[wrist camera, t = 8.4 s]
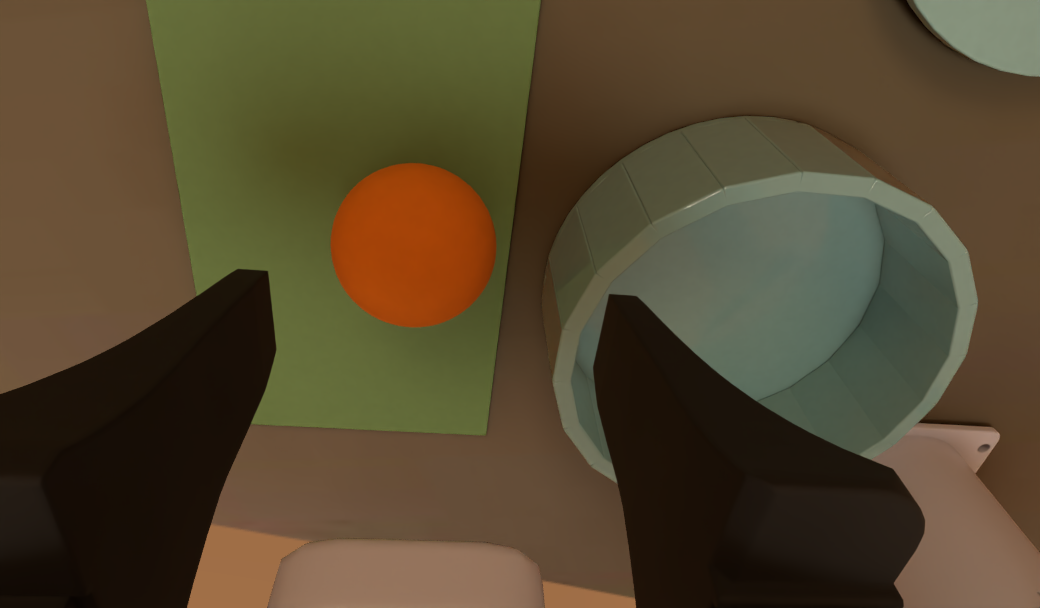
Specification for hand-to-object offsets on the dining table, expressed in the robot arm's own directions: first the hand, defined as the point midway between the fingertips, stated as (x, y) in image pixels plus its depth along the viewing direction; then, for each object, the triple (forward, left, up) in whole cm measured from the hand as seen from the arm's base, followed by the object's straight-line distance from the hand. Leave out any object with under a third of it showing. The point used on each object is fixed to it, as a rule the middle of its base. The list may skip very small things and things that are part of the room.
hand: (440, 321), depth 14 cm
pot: (-4, -10, -9) cm, 14 cm away
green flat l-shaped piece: (-1, +3, -9) cm, 10 cm away
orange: (-2, +1, -6) cm, 7 cm away
